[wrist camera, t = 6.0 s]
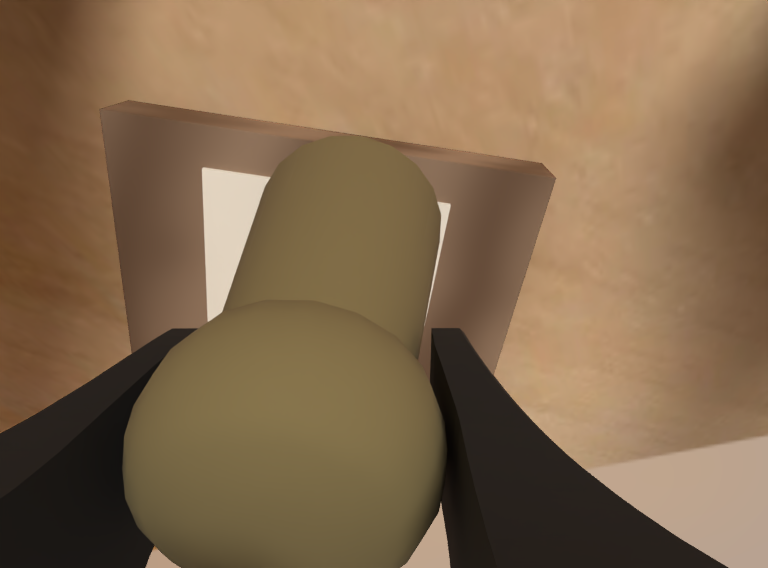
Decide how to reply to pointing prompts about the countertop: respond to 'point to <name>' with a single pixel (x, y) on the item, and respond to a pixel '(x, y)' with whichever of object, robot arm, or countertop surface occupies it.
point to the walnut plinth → (241, 199)
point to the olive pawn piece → (304, 382)
